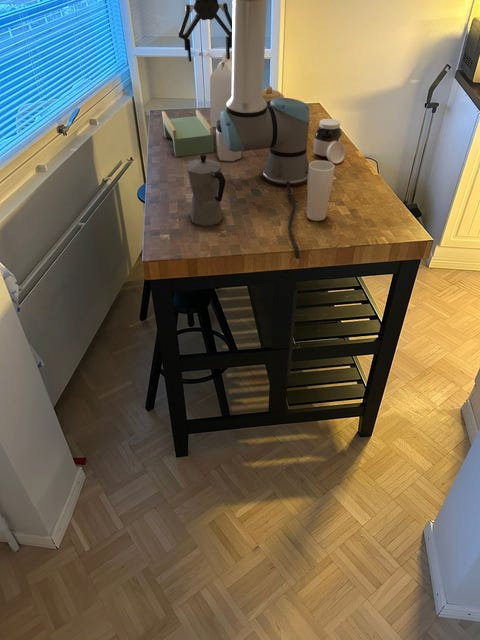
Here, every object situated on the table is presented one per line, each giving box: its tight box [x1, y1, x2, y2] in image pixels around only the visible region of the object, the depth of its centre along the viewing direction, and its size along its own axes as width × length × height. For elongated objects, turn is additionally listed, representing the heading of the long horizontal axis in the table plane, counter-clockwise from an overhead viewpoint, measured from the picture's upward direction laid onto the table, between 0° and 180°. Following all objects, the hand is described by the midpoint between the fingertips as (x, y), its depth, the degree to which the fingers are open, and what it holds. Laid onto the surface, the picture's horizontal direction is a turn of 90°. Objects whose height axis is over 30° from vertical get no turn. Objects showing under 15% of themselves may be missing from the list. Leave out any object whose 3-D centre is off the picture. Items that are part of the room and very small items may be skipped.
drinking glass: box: [306, 160, 335, 222], centre depth 128 cm, size 7×7×15 cm
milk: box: [209, 49, 232, 128], centre depth 185 cm, size 12×12×26 cm
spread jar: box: [313, 118, 346, 164], centre depth 161 cm, size 12×11×12 cm
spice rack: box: [161, 109, 215, 158], centre depth 174 cm, size 22×14×9 cm, turn 17°
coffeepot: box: [185, 154, 226, 227], centre depth 126 cm, size 15×9×18 cm, turn 39°
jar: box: [215, 120, 242, 162], centre depth 163 cm, size 9×8×12 cm
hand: (209, 59), depth 166 cm, fingers open, 13 cm apart
